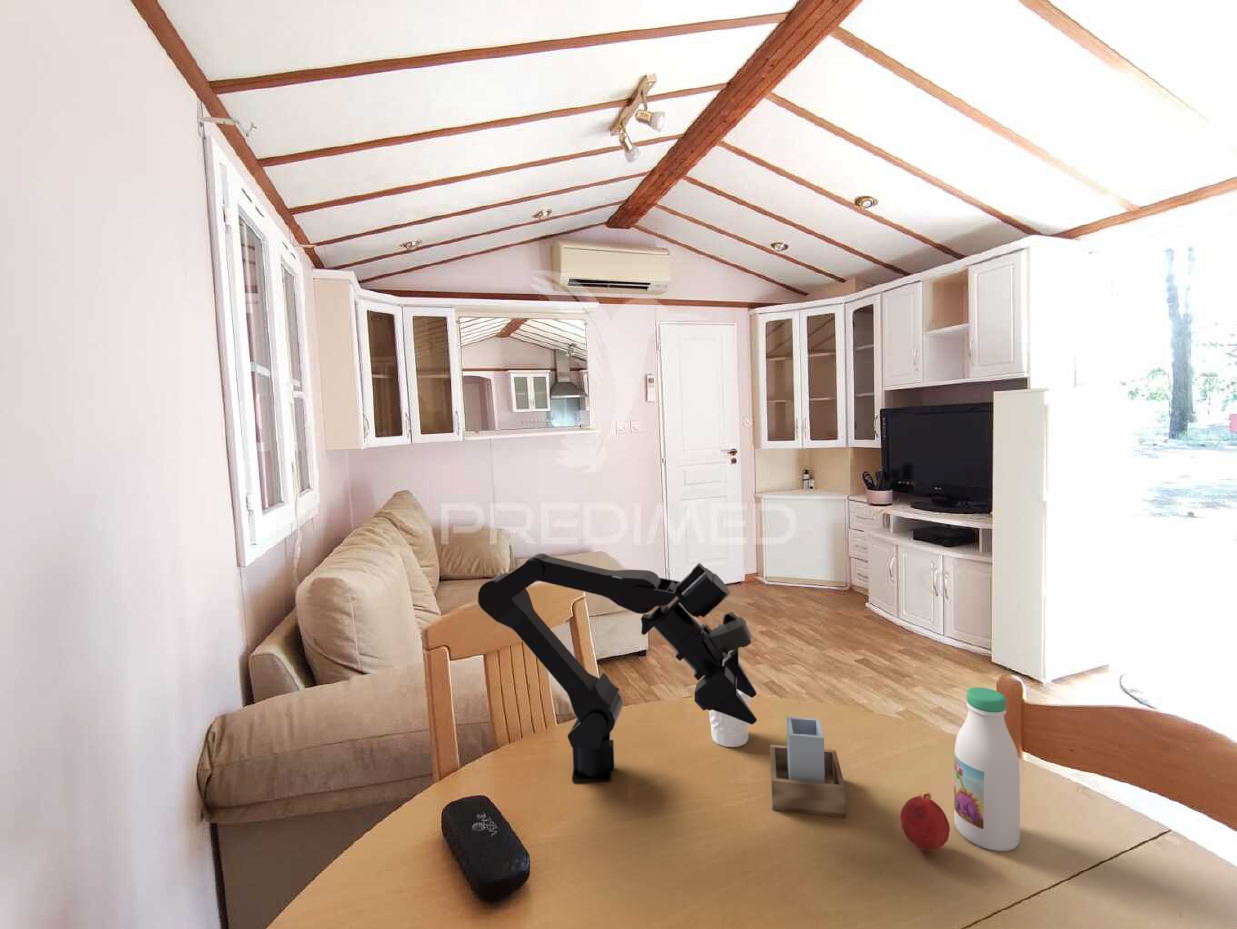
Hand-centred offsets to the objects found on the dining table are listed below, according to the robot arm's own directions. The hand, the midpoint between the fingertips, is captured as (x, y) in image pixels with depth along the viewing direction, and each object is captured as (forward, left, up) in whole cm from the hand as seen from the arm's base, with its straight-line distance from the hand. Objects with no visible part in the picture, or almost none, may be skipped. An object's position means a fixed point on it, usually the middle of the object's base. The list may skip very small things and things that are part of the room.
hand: (754, 708), depth 93 cm
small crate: (+7, -2, -12) cm, 15 cm away
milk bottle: (+29, -12, -13) cm, 34 cm away
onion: (+19, -15, -13) cm, 28 cm away
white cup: (-2, +15, -13) cm, 20 cm away
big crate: (+7, -2, -13) cm, 15 cm away
